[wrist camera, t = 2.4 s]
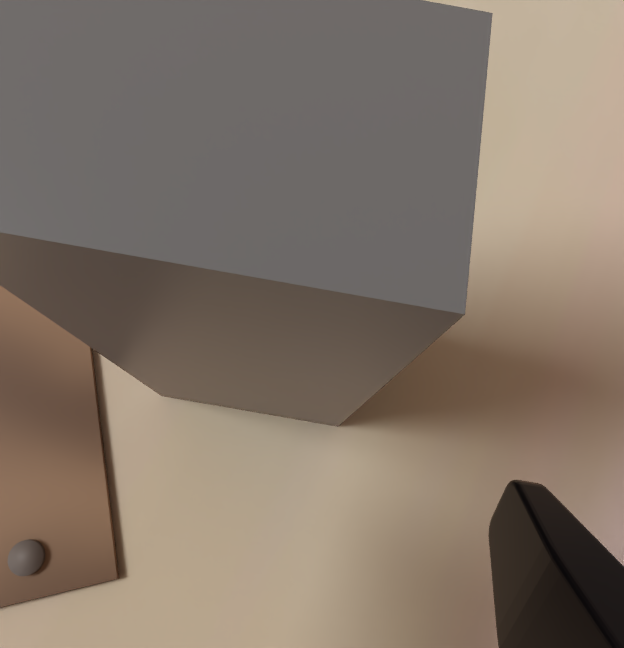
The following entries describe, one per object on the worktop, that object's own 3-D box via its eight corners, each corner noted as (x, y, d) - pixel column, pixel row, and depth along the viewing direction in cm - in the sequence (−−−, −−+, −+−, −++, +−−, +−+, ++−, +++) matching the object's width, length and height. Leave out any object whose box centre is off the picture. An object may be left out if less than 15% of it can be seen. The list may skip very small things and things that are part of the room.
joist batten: (118, 577, 17) (115, 580, 16) (-54, 619, 16) (-62, 622, 16) (77, 224, 20) (72, 219, 19) (-69, 249, 19) (-76, 245, 19)
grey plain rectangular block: (337, 426, 18) (465, 314, 6) (161, 395, 18) (-104, 213, 6) (355, 308, 19) (493, 1, 7) (189, 279, 19) (22, -85, 7)
